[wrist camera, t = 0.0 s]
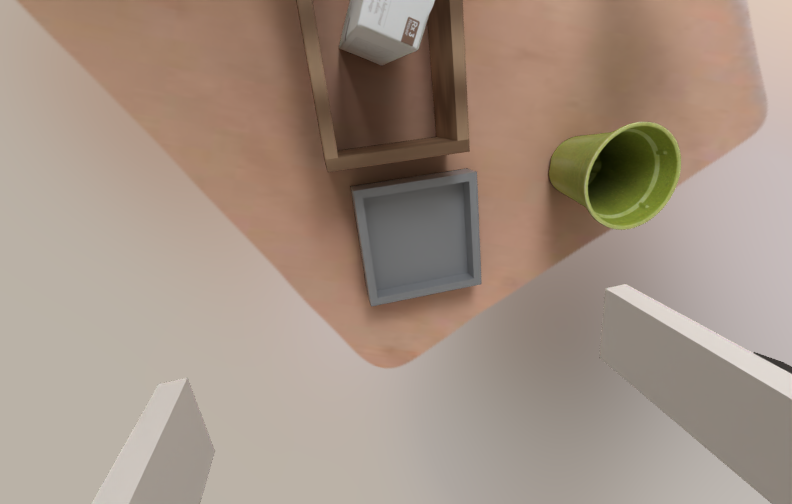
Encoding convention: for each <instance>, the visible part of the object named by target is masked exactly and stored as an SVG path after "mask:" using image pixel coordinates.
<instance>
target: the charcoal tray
mask: <svg viewBox="0 0 792 504" xmlns="http://www.w3.org/2000/svg"><path fill="white" fill-rule="evenodd" d="M350 187H351V193H352V199H353V206H354V212H355V218H356V225H357V231H358V237H359V244H360V250H361V256H362V263H363V269H364V275H365V281H366V288H367V294H368V298H369V301H370V305H371V306H376V305H381V304H386V303H391V302H396V301H401V300H406V299H411V298H416V297H421V296H426V295H430V294H435V293H440V292H445V291H450V290H455V289H460V288H465V287H470V286H475V285H480V284H481V262H480V238H479V213H478V189H477V172H476V171H473V170H470V169H467V168H466V169H460V170H453V171H447V172H440V173H434V174H427V175H421V176H414V177H408V178H401V179H395V180H389V181H382V182H376V183H369V184H363V185H356V186H350Z"/></svg>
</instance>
